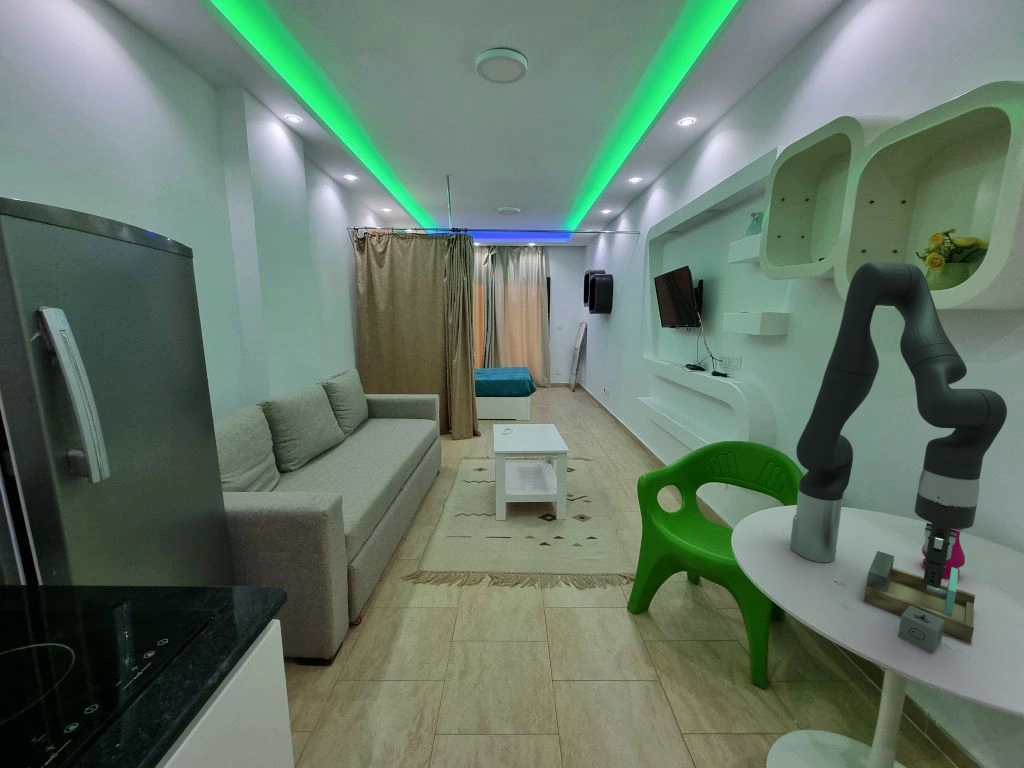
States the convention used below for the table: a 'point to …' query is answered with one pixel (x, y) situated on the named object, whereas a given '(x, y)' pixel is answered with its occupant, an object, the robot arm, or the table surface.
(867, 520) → the table surface
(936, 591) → the bar
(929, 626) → the dice cube
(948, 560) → the pepper mill
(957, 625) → the pusher lane
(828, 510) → the robot arm
